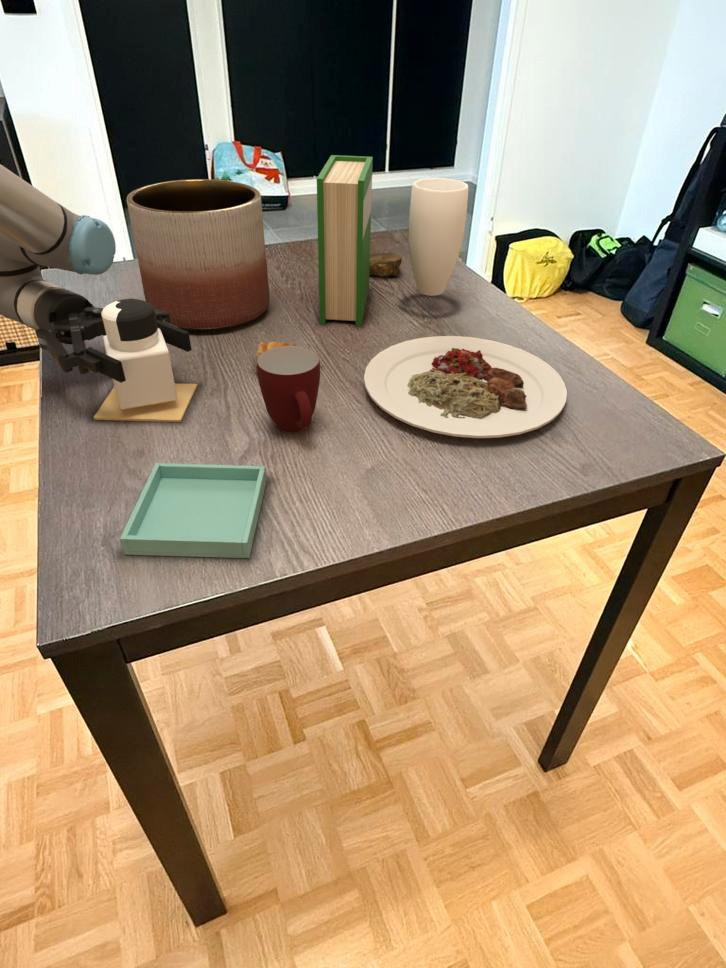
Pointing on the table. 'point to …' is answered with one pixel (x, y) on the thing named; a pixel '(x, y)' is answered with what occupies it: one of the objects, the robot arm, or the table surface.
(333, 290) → the hardback book
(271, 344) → the pastry
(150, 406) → the mat
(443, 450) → the table surface
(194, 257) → the planter
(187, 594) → the table surface
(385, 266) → the decorative stone
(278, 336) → the table surface
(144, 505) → the tray
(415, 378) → the plated food
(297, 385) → the mug
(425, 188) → the cup
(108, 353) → the container
